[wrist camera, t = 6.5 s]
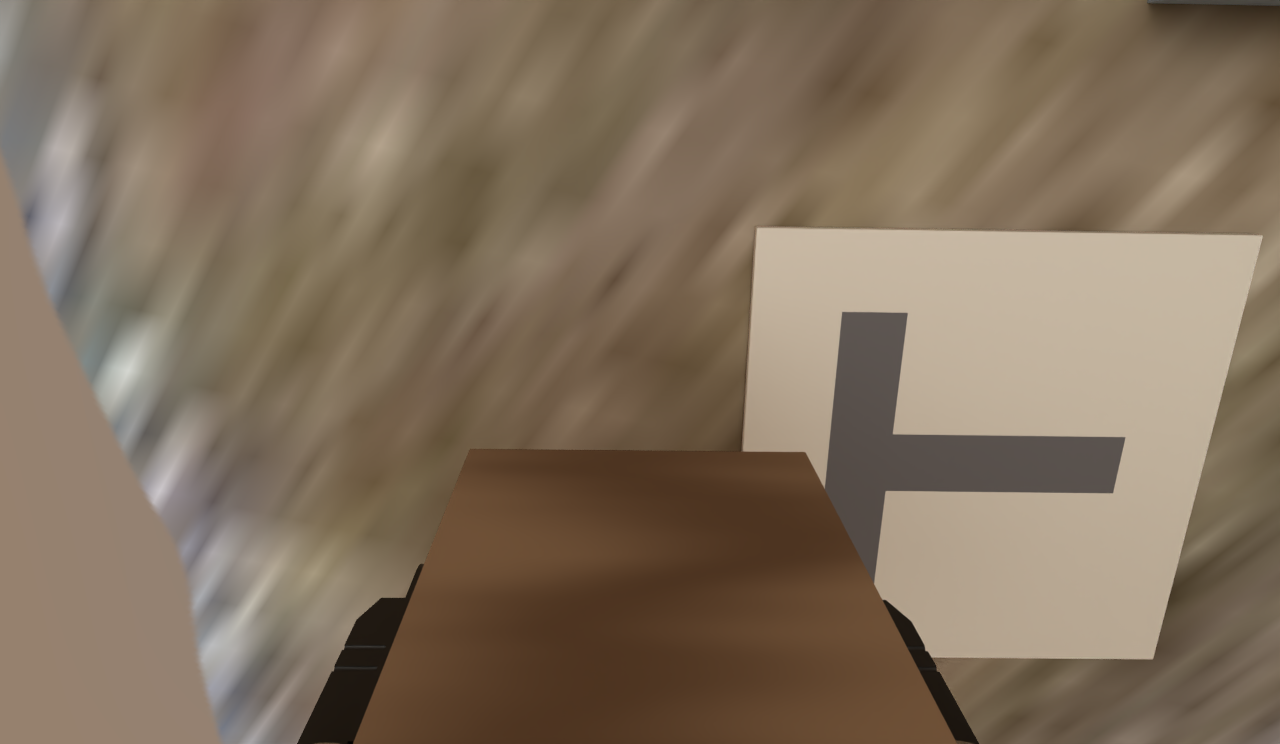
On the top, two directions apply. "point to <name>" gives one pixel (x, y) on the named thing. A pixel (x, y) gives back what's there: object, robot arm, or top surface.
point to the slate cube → (1220, 2)
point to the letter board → (1001, 416)
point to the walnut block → (646, 611)
